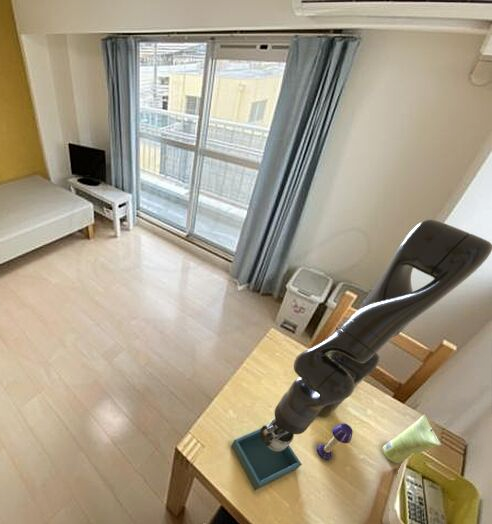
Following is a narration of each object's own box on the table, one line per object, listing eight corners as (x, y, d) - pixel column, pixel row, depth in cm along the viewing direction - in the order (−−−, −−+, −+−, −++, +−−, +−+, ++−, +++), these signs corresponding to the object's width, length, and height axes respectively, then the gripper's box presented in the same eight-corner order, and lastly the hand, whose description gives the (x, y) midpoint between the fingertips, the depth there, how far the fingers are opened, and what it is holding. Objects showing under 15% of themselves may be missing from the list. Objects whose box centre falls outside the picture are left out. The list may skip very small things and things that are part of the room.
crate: (269, 429, 96) (273, 422, 93) (295, 470, 88) (302, 464, 84) (230, 446, 93) (234, 440, 89) (254, 491, 84) (259, 485, 80)
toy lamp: (311, 446, 93) (333, 424, 82) (322, 440, 94) (345, 417, 83) (324, 462, 89) (349, 441, 79) (335, 455, 91) (361, 434, 80)
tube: (406, 458, 90) (449, 433, 78) (399, 469, 88) (441, 445, 75) (386, 441, 94) (424, 414, 81) (378, 451, 92) (416, 425, 79)
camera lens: (278, 458, 79) (287, 448, 74) (257, 439, 83) (264, 428, 78) (290, 441, 82) (299, 430, 77) (269, 423, 86) (277, 411, 81)
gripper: (282, 438, 66) (263, 462, 76) (332, 414, 69) (307, 441, 80) (260, 406, 71) (245, 433, 82) (308, 385, 75) (287, 414, 85)
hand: (276, 436), depth 81 cm, fingers closed on camera lens, 6 cm apart
